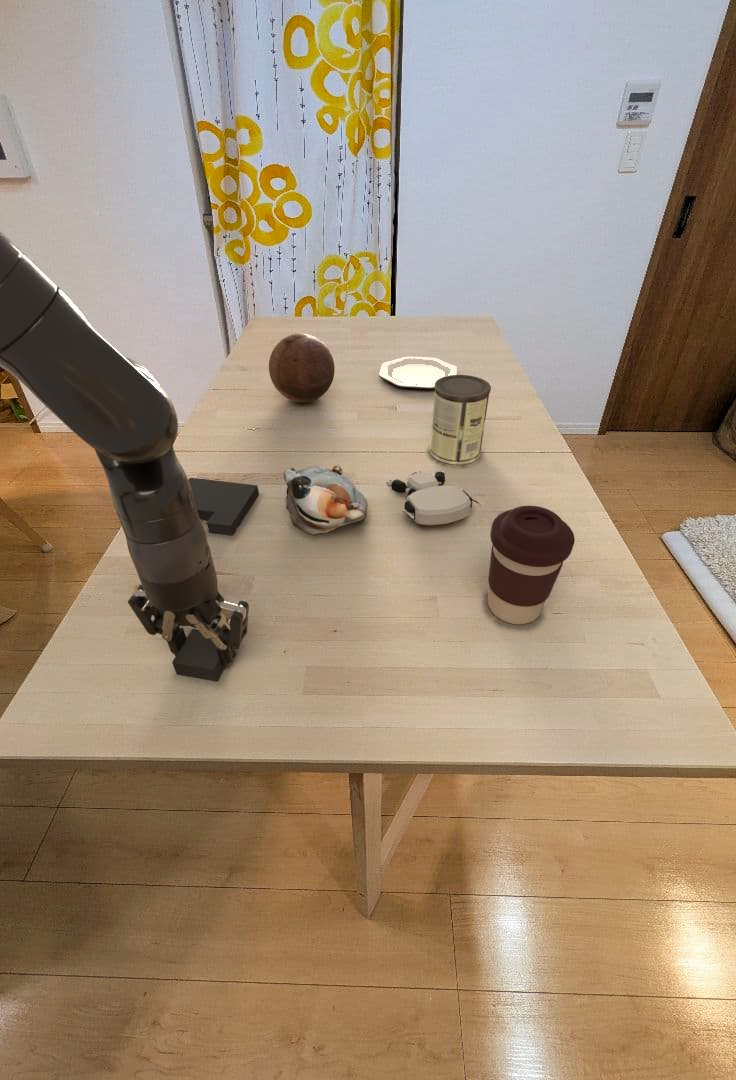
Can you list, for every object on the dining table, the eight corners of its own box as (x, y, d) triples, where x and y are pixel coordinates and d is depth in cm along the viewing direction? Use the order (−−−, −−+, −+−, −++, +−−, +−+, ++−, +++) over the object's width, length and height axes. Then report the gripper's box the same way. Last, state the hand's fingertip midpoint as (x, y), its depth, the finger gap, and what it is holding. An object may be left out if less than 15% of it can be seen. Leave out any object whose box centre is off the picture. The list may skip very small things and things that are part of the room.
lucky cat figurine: (381, 505, 90) (388, 466, 77) (345, 561, 86) (347, 529, 73) (308, 465, 92) (304, 420, 79) (270, 518, 88) (258, 480, 75)
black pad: (176, 674, 63) (171, 662, 62) (206, 623, 70) (202, 611, 68) (217, 681, 63) (213, 669, 61) (243, 629, 69) (241, 617, 67)
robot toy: (382, 494, 94) (413, 539, 83) (381, 472, 92) (414, 516, 80) (443, 483, 97) (481, 524, 86) (444, 461, 95) (484, 501, 83)
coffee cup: (539, 644, 67) (567, 558, 57) (467, 616, 71) (482, 530, 61) (557, 596, 74) (586, 511, 64) (490, 573, 77) (508, 489, 68)
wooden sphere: (348, 398, 124) (347, 334, 114) (301, 419, 116) (295, 352, 106) (307, 381, 132) (302, 320, 122) (260, 399, 124) (250, 335, 114)
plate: (456, 364, 141) (457, 358, 140) (455, 394, 126) (456, 388, 125) (385, 360, 143) (385, 355, 142) (375, 389, 128) (375, 384, 127)
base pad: (159, 526, 86) (156, 516, 85) (192, 486, 95) (189, 477, 94) (232, 535, 84) (230, 526, 83) (259, 494, 93) (257, 485, 92)
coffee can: (443, 434, 110) (450, 370, 101) (488, 448, 106) (499, 382, 97) (419, 455, 104) (424, 388, 95) (466, 470, 99) (476, 401, 90)
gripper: (89, 571, 52) (137, 672, 63) (222, 590, 50) (248, 692, 61) (129, 525, 58) (167, 626, 69) (251, 542, 56) (270, 643, 66)
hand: (205, 657), depth 65 cm, fingers closed on black pad, 5 cm apart
